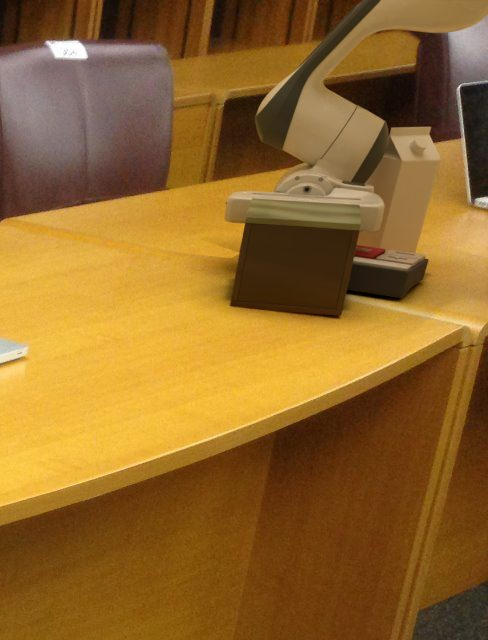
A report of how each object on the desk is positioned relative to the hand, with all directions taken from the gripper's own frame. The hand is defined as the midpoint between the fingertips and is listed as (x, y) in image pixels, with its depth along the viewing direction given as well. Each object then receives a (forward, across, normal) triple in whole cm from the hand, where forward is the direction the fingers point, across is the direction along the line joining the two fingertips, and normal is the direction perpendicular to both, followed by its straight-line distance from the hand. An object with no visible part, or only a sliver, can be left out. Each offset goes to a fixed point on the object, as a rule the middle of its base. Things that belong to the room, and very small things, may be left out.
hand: (302, 219), depth 208 cm
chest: (+7, 0, +10) cm, 12 cm away
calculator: (-8, +10, +10) cm, 16 cm away
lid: (+6, 0, -1) cm, 6 cm away
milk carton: (-29, +12, +10) cm, 33 cm away
